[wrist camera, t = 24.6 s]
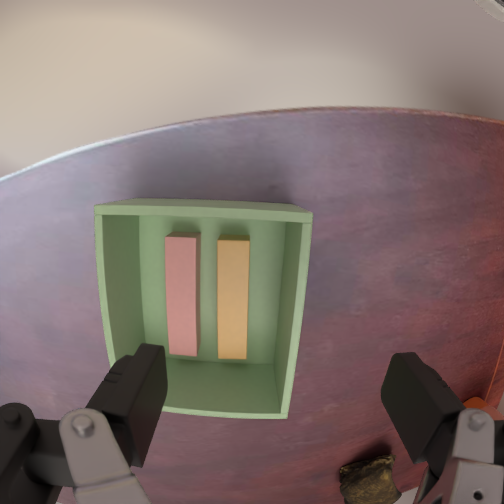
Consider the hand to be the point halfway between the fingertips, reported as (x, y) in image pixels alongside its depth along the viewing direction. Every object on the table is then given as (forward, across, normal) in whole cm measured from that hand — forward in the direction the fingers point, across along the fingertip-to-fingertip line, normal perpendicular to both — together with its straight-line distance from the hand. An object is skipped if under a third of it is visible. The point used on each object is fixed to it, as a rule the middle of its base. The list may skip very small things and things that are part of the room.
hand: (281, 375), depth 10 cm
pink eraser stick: (+15, +6, +3) cm, 17 cm away
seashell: (+16, -18, +32) cm, 40 cm away
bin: (+16, +4, +3) cm, 17 cm away
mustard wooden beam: (+15, +2, +3) cm, 16 cm away
